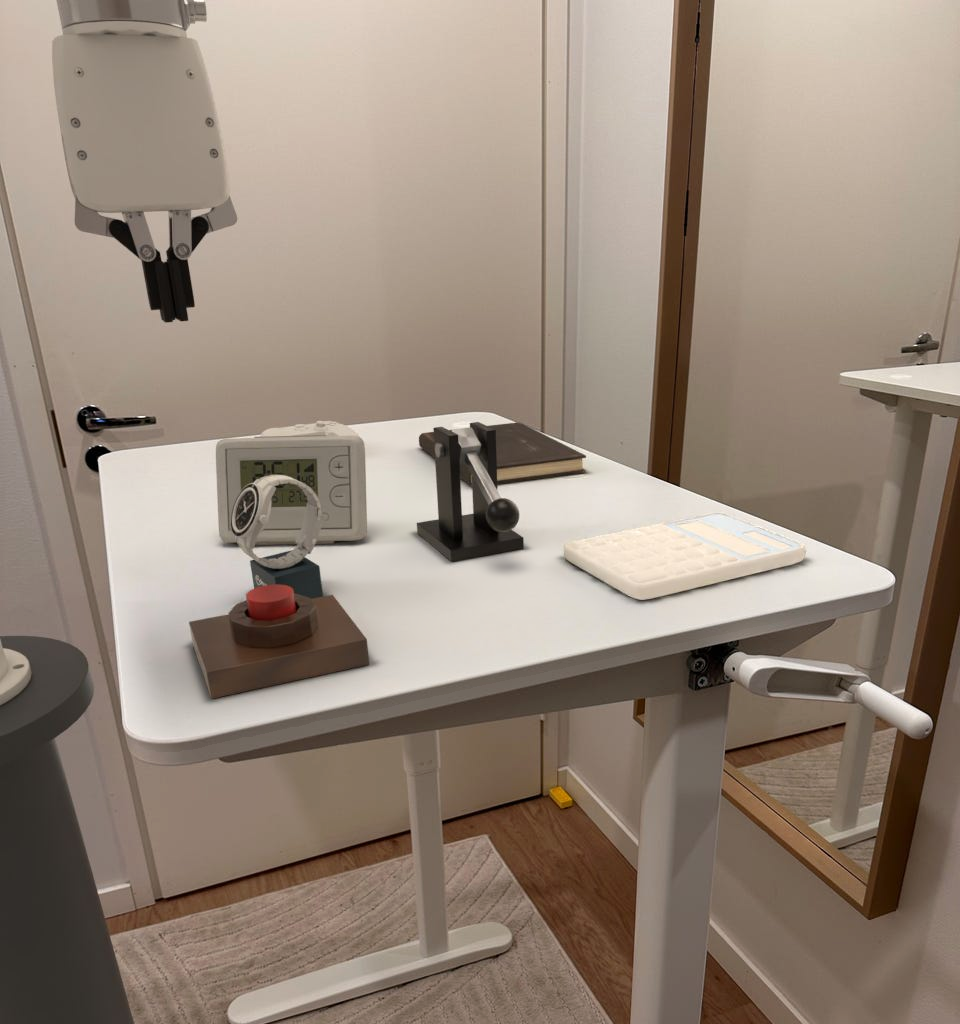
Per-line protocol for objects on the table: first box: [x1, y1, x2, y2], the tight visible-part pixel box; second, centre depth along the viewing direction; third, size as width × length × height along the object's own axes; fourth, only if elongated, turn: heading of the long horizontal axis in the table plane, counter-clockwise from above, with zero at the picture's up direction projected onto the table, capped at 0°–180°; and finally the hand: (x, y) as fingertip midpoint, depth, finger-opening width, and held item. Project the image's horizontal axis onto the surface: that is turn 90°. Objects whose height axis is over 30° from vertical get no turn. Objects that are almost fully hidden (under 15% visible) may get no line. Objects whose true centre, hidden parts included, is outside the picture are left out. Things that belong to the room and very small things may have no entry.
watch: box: [231, 475, 324, 599], centre depth 81 cm, size 6×8×11 cm
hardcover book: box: [418, 421, 587, 487], centre depth 125 cm, size 16×23×2 cm
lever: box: [451, 426, 520, 532], centre depth 88 cm, size 13×3×3 cm, turn 23°
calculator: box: [562, 511, 807, 601], centre depth 87 cm, size 13×20×2 cm, turn 116°
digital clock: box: [215, 435, 368, 546], centre depth 96 cm, size 16×9×11 cm, turn 75°
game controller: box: [260, 420, 360, 437], centre depth 131 cm, size 14×4×10 cm
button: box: [245, 584, 296, 620], centre depth 70 cm, size 4×4×2 cm
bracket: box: [416, 421, 525, 562], centre depth 93 cm, size 10×8×12 cm
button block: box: [188, 594, 370, 700], centre depth 71 cm, size 12×10×4 cm
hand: (174, 319), depth 65 cm, fingers closed
